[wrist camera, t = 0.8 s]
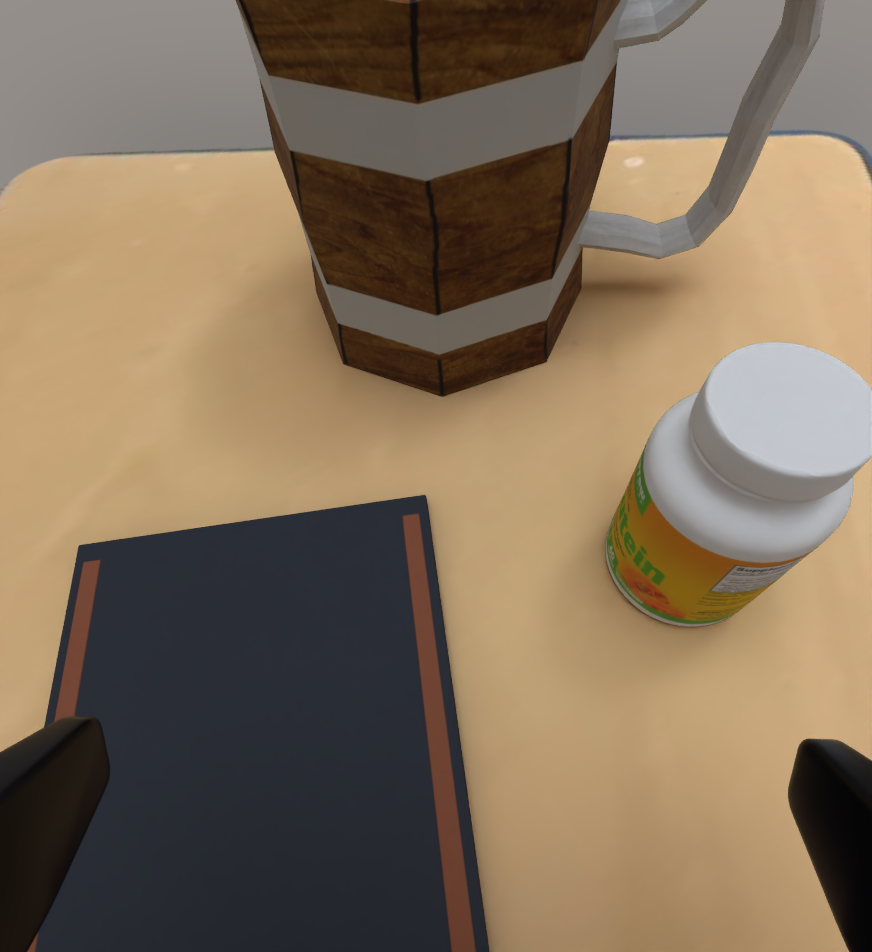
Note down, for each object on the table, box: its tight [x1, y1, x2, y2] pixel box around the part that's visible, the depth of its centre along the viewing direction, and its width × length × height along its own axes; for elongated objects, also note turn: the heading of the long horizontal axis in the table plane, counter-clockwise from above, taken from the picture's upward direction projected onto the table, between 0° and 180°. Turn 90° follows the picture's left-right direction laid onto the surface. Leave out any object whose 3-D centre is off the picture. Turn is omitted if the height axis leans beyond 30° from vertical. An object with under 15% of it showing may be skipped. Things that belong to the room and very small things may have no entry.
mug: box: [236, 0, 824, 396], centre depth 24 cm, size 20×14×15 cm
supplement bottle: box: [606, 342, 872, 627], centre depth 18 cm, size 5×5×10 cm
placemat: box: [27, 495, 489, 952], centre depth 19 cm, size 20×14×1 cm
